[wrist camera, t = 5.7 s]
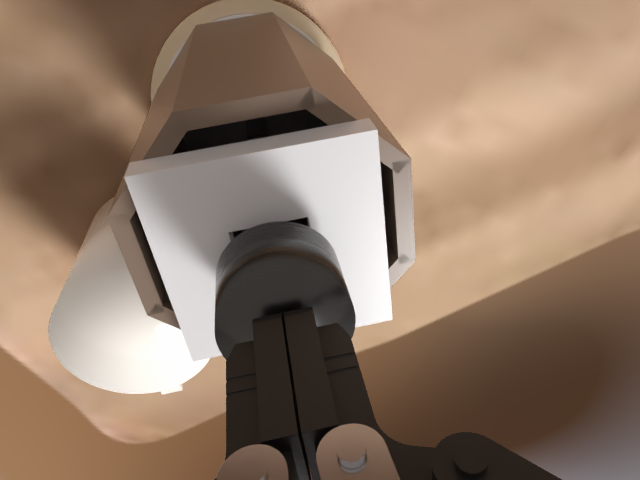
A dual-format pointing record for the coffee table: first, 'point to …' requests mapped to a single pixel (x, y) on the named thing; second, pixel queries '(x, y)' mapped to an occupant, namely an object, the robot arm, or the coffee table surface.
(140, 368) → the mug
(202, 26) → the carafe
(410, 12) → the coffee table surface
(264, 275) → the plunger
